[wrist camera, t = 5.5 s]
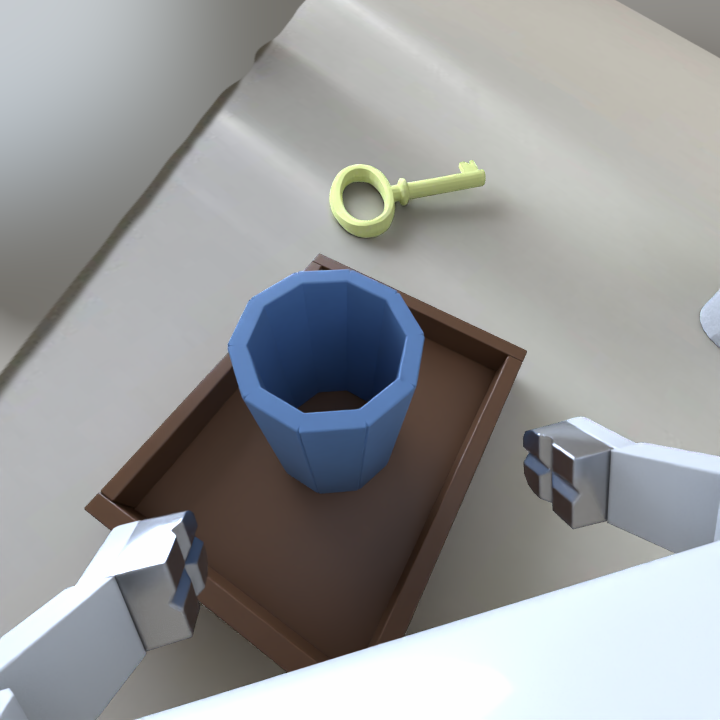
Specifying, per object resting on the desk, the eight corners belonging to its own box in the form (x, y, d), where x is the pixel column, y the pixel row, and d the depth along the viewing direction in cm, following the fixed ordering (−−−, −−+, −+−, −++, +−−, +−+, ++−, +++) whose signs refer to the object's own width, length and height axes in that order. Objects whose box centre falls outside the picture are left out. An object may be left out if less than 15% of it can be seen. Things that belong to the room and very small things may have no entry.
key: (486, 197, 30) (495, 172, 29) (353, 247, 27) (354, 223, 25) (436, 151, 33) (441, 126, 32) (312, 191, 30) (309, 166, 28)
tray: (360, 709, 15) (362, 733, 12) (115, 516, 18) (82, 508, 16) (510, 372, 22) (527, 350, 20) (321, 280, 25) (319, 252, 23)
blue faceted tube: (356, 518, 18) (364, 474, 10) (251, 450, 19) (185, 364, 11) (413, 416, 20) (455, 317, 12) (317, 363, 22) (301, 245, 14)
